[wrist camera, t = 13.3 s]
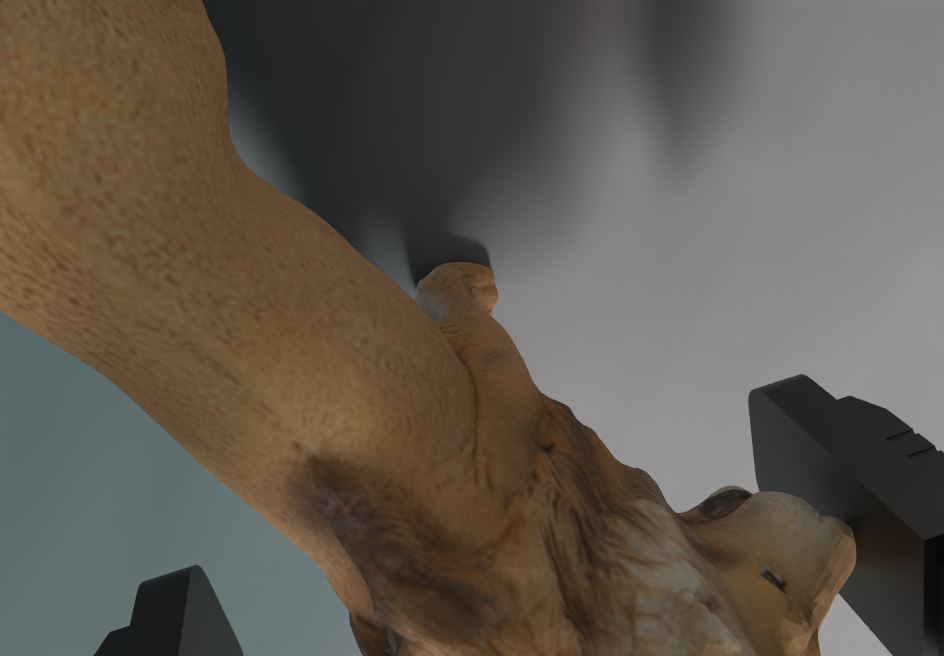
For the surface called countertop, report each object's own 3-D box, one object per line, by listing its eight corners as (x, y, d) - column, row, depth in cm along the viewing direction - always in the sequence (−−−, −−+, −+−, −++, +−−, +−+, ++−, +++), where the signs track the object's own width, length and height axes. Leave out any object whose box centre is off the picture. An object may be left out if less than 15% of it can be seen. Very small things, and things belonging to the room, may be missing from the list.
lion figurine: (684, 348, 17) (1059, 732, 8) (498, 535, 18) (676, 1039, 9) (-52, -311, 11) (-1136, -1121, 3) (-271, 27, 12) (-1562, 220, 4)
